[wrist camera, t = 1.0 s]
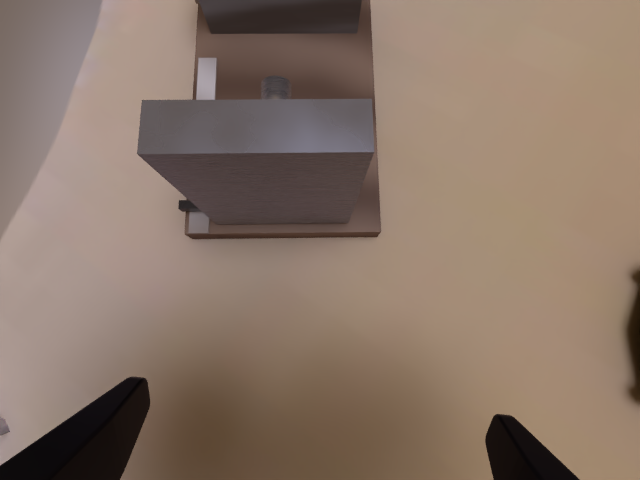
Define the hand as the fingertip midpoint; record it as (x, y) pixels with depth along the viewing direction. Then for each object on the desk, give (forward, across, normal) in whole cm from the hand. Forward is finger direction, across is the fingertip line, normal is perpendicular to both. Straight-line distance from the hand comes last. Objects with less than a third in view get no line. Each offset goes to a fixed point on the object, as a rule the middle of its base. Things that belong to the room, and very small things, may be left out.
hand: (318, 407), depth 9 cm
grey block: (+15, +4, -2) cm, 16 cm away
